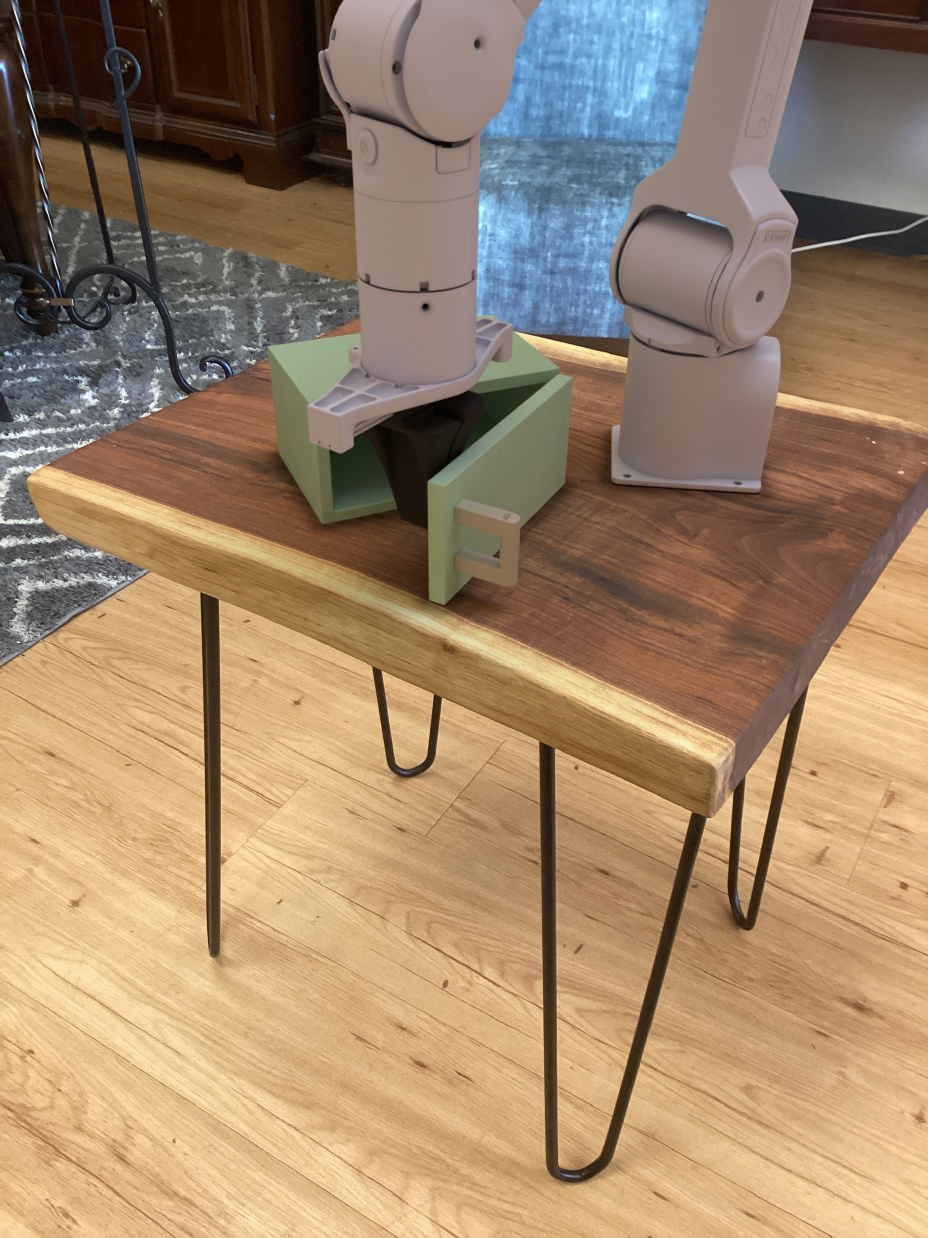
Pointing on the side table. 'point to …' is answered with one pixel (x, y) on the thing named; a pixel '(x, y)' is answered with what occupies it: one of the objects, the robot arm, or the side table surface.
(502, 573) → the door
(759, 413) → the robot arm
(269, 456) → the side table surface
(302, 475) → the cabinet
